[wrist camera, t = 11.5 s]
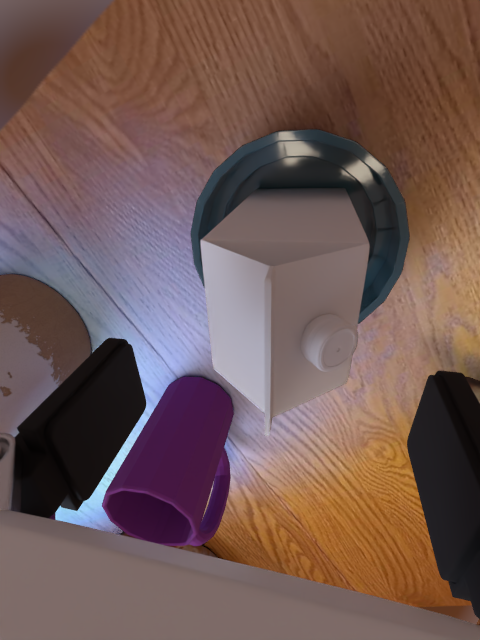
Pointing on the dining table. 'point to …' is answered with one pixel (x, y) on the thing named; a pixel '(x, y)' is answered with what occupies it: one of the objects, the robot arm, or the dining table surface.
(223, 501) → the mug
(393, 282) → the shallow pet bowl
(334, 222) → the milk carton
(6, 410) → the vase
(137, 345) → the dining table surface
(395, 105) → the dining table surface
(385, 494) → the dining table surface
